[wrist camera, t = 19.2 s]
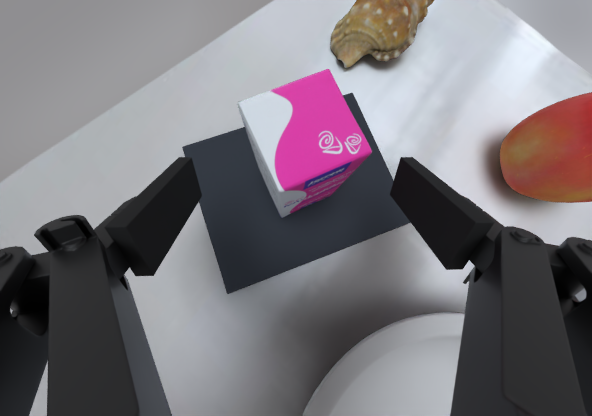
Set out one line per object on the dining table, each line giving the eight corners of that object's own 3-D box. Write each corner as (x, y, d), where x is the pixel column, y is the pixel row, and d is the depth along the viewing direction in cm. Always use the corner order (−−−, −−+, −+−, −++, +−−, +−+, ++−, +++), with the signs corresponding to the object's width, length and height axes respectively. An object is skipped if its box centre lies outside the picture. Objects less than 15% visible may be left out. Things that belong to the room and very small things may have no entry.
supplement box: (282, 220, 22) (275, 194, 11) (259, 170, 23) (231, 96, 12) (332, 198, 23) (376, 150, 11) (308, 149, 23) (327, 60, 12)
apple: (547, 226, 23) (733, 212, 14) (464, 192, 24) (587, 154, 14) (563, 151, 25) (739, 90, 15) (485, 120, 26) (609, 40, 16)
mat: (184, 149, 24) (182, 146, 23) (351, 95, 26) (352, 92, 25) (229, 292, 21) (227, 294, 21) (409, 222, 23) (412, 221, 22)
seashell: (348, 33, 31) (411, -63, 23) (385, 77, 31) (460, -2, 23) (315, 40, 25) (382, -83, 17) (361, 93, 26) (447, -3, 18)
